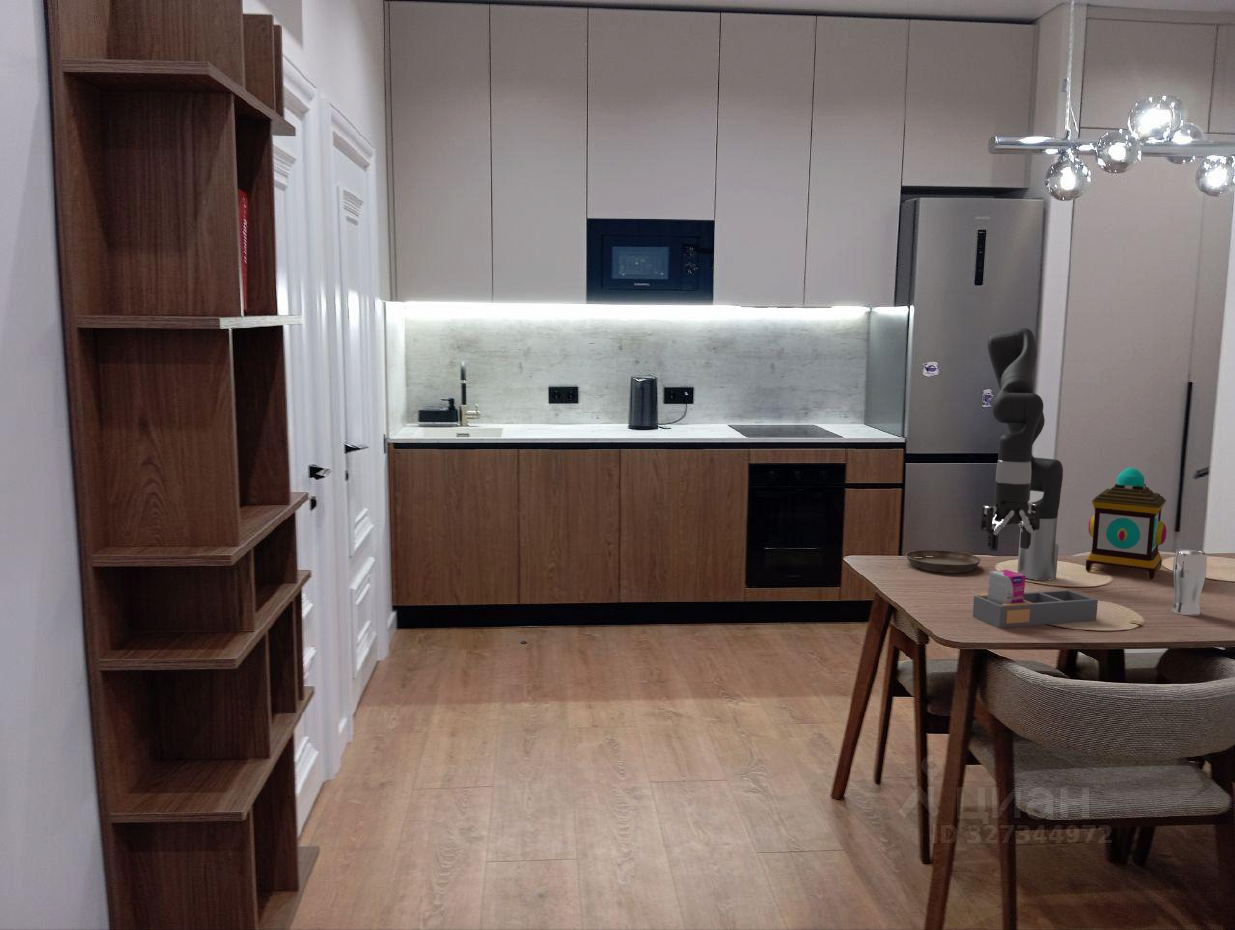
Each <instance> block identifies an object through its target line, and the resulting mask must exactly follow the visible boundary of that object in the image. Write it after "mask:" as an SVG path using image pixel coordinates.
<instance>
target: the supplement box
mask: <svg viewBox="0 0 1235 930" xmlns="http://www.w3.org/2000/svg"><path fill="white" fill-rule="evenodd" d="M988 576H989V578H988V587H987V588H988V589H987V594H988V597H987V600H990V601H992V602H994V603H997V604H999V605H1001V604H1009V603H1023V598H1024V593H1025V588H1026V579H1025V577H1026V576H1025V575H1022V574H1019V573H1017V572H1015V571H1012V570H1009V569H1003V570H1002V569H1001V570H993V571H989V575H988Z"/></svg>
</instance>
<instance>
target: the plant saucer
mask: <svg viewBox="0 0 1235 930" xmlns="http://www.w3.org/2000/svg"><path fill="white" fill-rule="evenodd" d="M926 556H933V557H926ZM905 557H906V558H907V561H908V562H910V564H911V565H912V566H913V567H915V568H917V569H920V570H922V571H923V570H924V571H928V572H934V573H943V574H944V573H946V574H961V573H967V572H968V573H969V572H970V571H973V570H974V569H975V568H977V566H978V565H979V564H980V563H981V560H982V559H981V558H980V557H979V556H976V555H973V554H969V553H965V552H961V551H960V552H958V551H954V550H953V551H951V550H941V549H940V550H938V549H923V550H922V549H920V550H912V551H908V552H906V553H905ZM914 557H922V558H914Z"/></svg>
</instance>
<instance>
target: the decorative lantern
mask: <svg viewBox="0 0 1235 930" xmlns="http://www.w3.org/2000/svg"><path fill="white" fill-rule="evenodd" d="M1091 503H1092V506H1093V508H1094V515H1092V516H1091V517H1090V518H1089V519H1088V527H1087V528H1088V534H1089V536H1090V537H1092V544H1091V545H1092V547H1091V551H1090V552H1089V554H1088V556H1087V559H1086V561H1085V570H1086V572H1088V573H1090V572H1091V571H1092V569H1093V565H1102V566H1111V567H1118V568H1124V569H1125V568H1127V569H1133V570H1134V569H1135V570H1140V571H1146V572H1147V576H1148V577H1147V578H1148V580H1149V581H1153V580H1155V579H1154V578H1155V574H1156V571H1159V570H1161V568H1162V562H1163V560H1162V556H1161V554H1160V551H1159V546H1162V545H1163V544H1164V543H1165V541H1166V539H1167V531H1168V530H1167V527H1166V524H1165V523H1164V522H1163V521H1161V517H1162V516H1161V515H1162V510H1163V507H1164V505H1166V503H1167V500H1166V499H1165V498H1164V496H1162V495H1161V493H1159V492H1153V490H1151V489H1150V487H1147V484H1146V483H1145V476H1144V475H1143V474H1142V472H1141V471H1139V469H1137V468H1135V467H1128V468H1125V469H1124V470H1122V472H1120V473H1119V474H1118V476H1117V480H1116V483H1115V484H1114V485H1113V486H1112V487H1111V488H1106V489H1104V490H1103V491H1102V492H1101V493H1099V494H1098V495H1096V496H1095V497H1094V498H1093V499H1092V500H1091Z"/></svg>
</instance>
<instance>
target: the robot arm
mask: <svg viewBox="0 0 1235 930" xmlns="http://www.w3.org/2000/svg"><path fill="white" fill-rule="evenodd" d="M1037 349H1038V348H1037V344H1036V338H1035V335H1034V334H1033V331H1032V330H1031V329H1030V328H1027V327H1023V328H1015V329H1011V330H1007V331H1001V332H996V333H993V334H991V335H990V336H989V337H988V339H987V350H988V355H989V358H990V362H991V365H992V369H993V371H994V374H995V378H996V381H997V383H998V384H997V385H998V387H999V391H998V393H997V395H995V396H996V397H995V399H994V401H993V405H992V415H993V417H994V419H995V420H996V421H997V422H998V423H1001V424H1007V428H1008V431H1009V433H1006V434H1003V435H1001V436H1000V437H999V441H998V455H997V456H998V457H997V458H998V459H997V465H996V469H995V483H994V499H995V503H994V506H991V505H990V506H989V505H985V504H984V505H983V506H982V511H981V518H980V527H979V529H980V531H981V532H984V533H987V547H988V550H990V551H991V552H997V551H998V547H999V532H1000V531H1001V529H1004V528H1005V526H1006V525H1013V524H1015V525H1018V527H1019V529H1020V530H1019V531H1020V532H1019V542H1018V543H1019V545H1018V558H1017V572H1016V573H1019V574H1022V575H1025V576H1026V577H1025V578H1029V579H1028V580H1030V579H1037V580H1036V581H1050V580H1049V579H1052V578H1053V579H1057V572H1058V570H1057V569H1058V558H1059V557H1058V556H1059V544H1058V543H1057V528H1058V517H1059V516H1058V515H1059V509H1060V503H1061V493H1062V486H1063V478H1064V467H1063V464H1062V462H1061V461H1060V460H1058V459H1054V458H1043V457H1034V455H1033V454H1032V453H1033V450H1032V449H1033V445H1034V443H1035V441H1036V440H1037V438H1038V437H1039V436H1040V434H1041V433H1042V431H1043V428H1044V427H1045V421H1046V420H1045V415H1044V401H1043V398H1042V397H1041V396H1040V395H1038V394H1037V393H1035V392H1034V385H1033V374H1034V371H1035V366H1036V361H1037V357H1038V354H1037V353H1038V350H1037ZM1031 492H1041V493H1043V494H1042V498H1041V499H1039V500H1036V501H1033V502H1030V500H1031ZM1053 579H1052V580H1053Z"/></svg>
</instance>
